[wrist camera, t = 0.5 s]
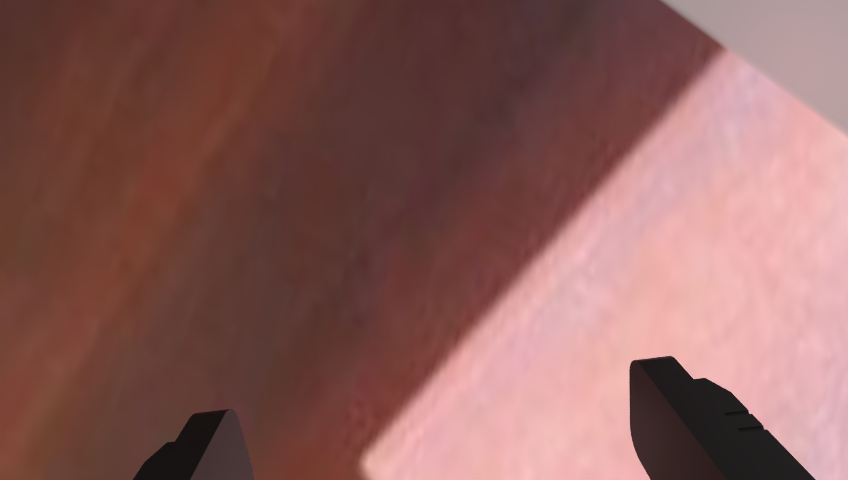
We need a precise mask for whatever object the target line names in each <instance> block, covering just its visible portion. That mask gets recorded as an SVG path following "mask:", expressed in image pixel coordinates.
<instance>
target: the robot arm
mask: <svg viewBox="0 0 848 480" xmlns="http://www.w3.org/2000/svg"><path fill="white" fill-rule="evenodd" d="M630 429H631V436H632V441H633V445H634V448H635V451H636V453H637V456H638V458H639V460H640V462H641V463H642V465H643V467H644V469H645V470H646V472H647V474H648V476H649V477H650V479H651V480H815V479H814V478H813V477H812V476H811V475H810V474H809V473H808V471H807V470H806V469H805V468H804V467H803V466H802V465H801V464H800V463H799V462H798V461H797V460H796V459H795V458H794V457H793V456H792V455H791V454H790V453H789V452H788V451H787V450H786V449H785V448H784V447H783V446H782V445H781V444H780V443H779V442H778V440H777V439H776V438H775V437H774V436H773V435H772V434H771V433H770V432H769V431H768V430H764V428H763V425H762V424H761V423H760V422H759V421H758V420H757V419H756V418H755V417H754V416H753V415H752V414H749V412H748V409H747V408H746V407H745V406H744V405H743V404H742V403H741V402H740V401H739V400H738V399H737V398H736V397H735V396H734V395H733V394H732V393H731V392H730V391H728V390H726V389H724V388H722V387H721V386H719V385H717V384H715V383H713V382H711V381H710V380H708V379H706V378H701V379H693V378H692V377H691V376H690V375H689V374H688V373H687V371H686V370H685V369H684V368H683V367H682V366H681V365H680V364H679V362H678V361H677V360H676V359H675V358H674V357H672V356H666V357H658V358H650V359H642V360H634V361H632V362H631V365H630ZM133 480H254V475H253V469H252V466H251V462H250V458H249V455H248V451H247V447H246V444H245V440H244V437H243V433H242V429H241V426H240V422H239V419H238V416H237V414H236V412H235V411H234V410H232V409H227V410H219V411H211V412H203V413H195V414H193V415H192V416H191V417H190V419H189V420H188V422H187V423H186V425H185V427H184V428H183V430H182V431H181V433H180V435H179V436H178V438H177V439H176V441H175V442H168V443H166V444H165V445H164V446H163V447H162V448H160V449H159V450H158V451H157V452H156V453H155V454H153V455H152V456H151V457H150V458H149V459H148V460H147V461H145V462H144V464H143V465H142V467H141V468H140V470H139V471H138V473H137V474H136V476H135V477H134V479H133Z"/></svg>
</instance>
